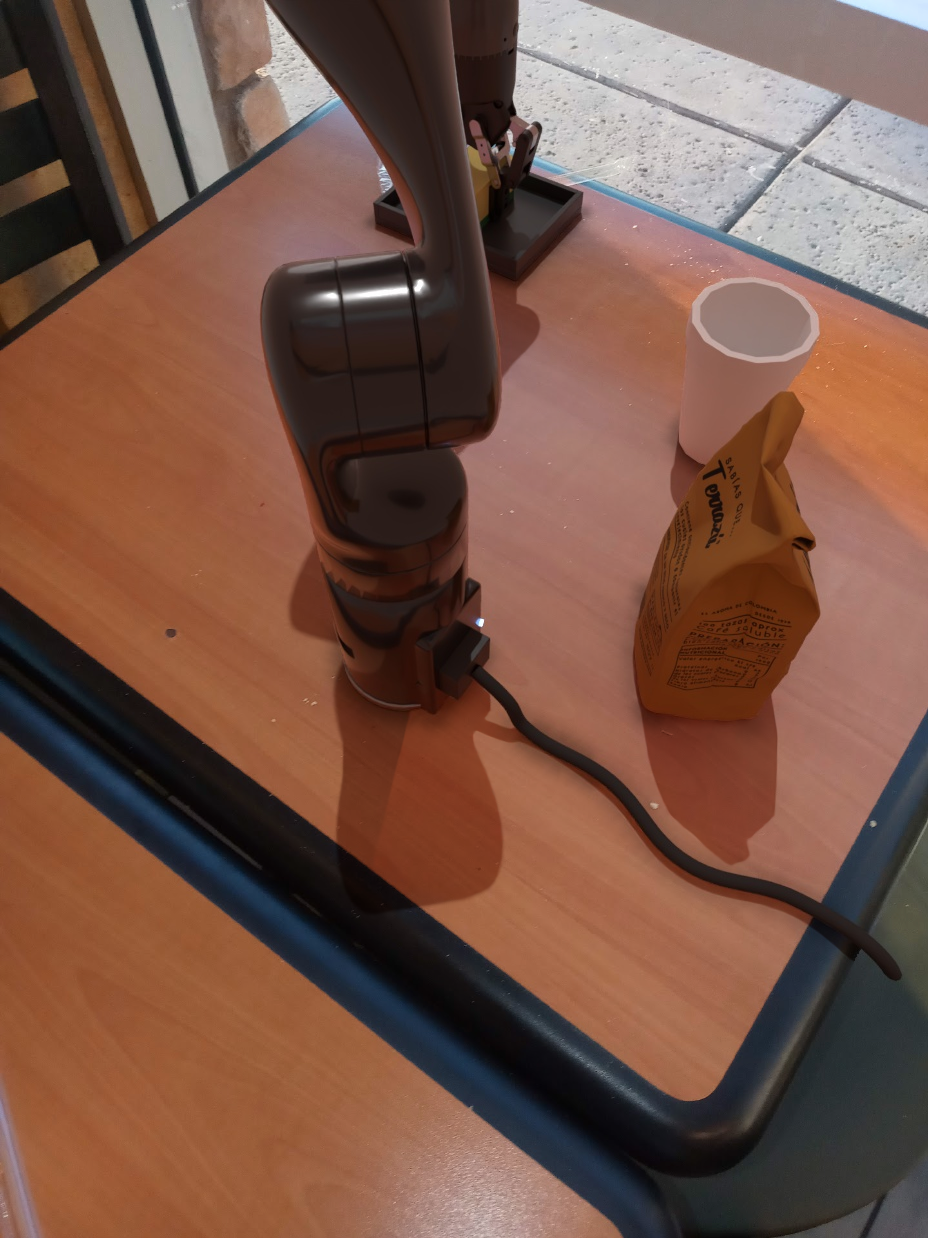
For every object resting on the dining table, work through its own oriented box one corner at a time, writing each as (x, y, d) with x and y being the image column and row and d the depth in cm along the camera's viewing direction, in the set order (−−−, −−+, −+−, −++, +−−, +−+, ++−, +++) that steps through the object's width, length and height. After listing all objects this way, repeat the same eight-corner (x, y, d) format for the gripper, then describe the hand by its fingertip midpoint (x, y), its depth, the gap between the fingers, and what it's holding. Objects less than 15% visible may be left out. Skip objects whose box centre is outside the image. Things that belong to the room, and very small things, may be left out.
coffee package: (767, 594, 70) (876, 381, 51) (764, 739, 64) (887, 557, 45) (638, 574, 71) (699, 358, 52) (622, 715, 65) (685, 527, 46)
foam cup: (643, 413, 80) (671, 290, 69) (738, 390, 82) (781, 266, 70) (689, 492, 75) (726, 375, 64) (789, 467, 77) (843, 347, 66)
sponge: (474, 181, 97) (474, 140, 93) (514, 197, 95) (515, 156, 92) (432, 221, 93) (430, 180, 90) (472, 237, 92) (473, 196, 88)
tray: (581, 211, 95) (583, 191, 93) (515, 281, 90) (516, 261, 88) (445, 159, 100) (445, 139, 98) (374, 222, 95) (372, 202, 93)
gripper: (383, 25, 80) (396, 202, 95) (523, 73, 76) (514, 250, 90) (431, -10, 83) (436, 166, 98) (567, 34, 79) (551, 210, 94)
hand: (473, 205), depth 94 cm, fingers closed on sponge, 5 cm apart
